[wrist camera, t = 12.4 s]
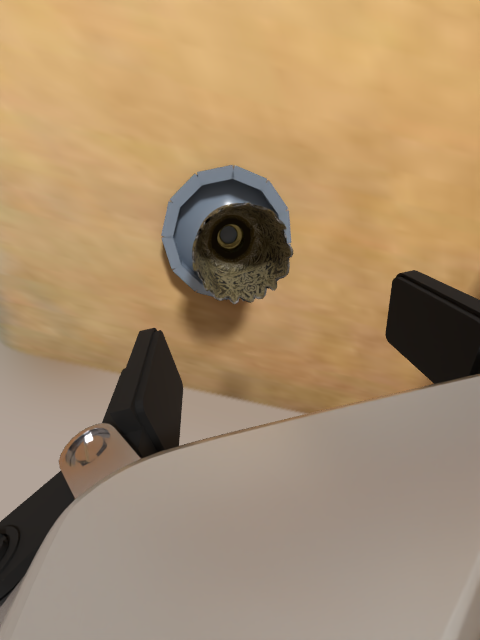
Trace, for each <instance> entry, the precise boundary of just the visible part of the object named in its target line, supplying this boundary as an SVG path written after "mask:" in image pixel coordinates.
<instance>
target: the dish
mask: <svg viewBox="0 0 480 640" xmlns="http://www.w3.org/2000/svg"><path fill="white" fill-rule="evenodd" d="M197 174H198V175H196V174H194V175H193V176H192V177H191V178H190V179H189V180H188V181H187V182H186V183H185V184H184V185H183V186H182V187H181V188H180V189H179V190H178V191H177V192H176V193H175V194H174V195H173V196H172V198H171V199H170V201H169V202H168V207H167V212H166V216H165V221H164V226H163V230H162V235H161V236H162V241H163V244H164V247H165V250H166V253H167V257H168V260H169V263H170V266H171V269H173V272H174V273H176V274H177V275H178V276H179V277H180V278H181V279H182V280H183V281H184V282H185V283H186V284H187V285H188V286H189V287H191V288H192V289H193V290H194V291H196V290H197V293H201V294H204V295H208V296H212V297H214V296H213V295H212V294H211V292H210V291H206V290H205V288H204V285H203V282H202V280H201V279H200V278H199V276H198V273H197V271H194V270H193V266H192V262H193V260H192V247H193V243H194V240H195V238H196V235H197V232H198V230H199V228H200V226H201V224H202V222H203V221H204V219H205V218H206V217H207V216H208V215H209V214H210V213H211V212H212V211H214V210H215V209H217V208H219V207H221V206H224V205H227V204H233V203H252V204H254V205H259V206H262V207H265V208H268V209H270V210H271V211H273V212H274V213H275V214H276V215H277V217H278V219H280V220H281V221H282V222H283V223H284V224H285V226H286V228H287V229H286V231H285V230H284V232H285V234H286V236H287V243H288V245H289V246H291V244H289V243H291V233H290V220H289V210H287V209H288V208H287V206H286V205H285V203H284V202H283V200H282V199H281V197H280V196H279V194H278V193H277V191H276V190H275V189H274V187H273V186H272V184H271V183H270V181H269V180H267V179H266V178H264V177H261V176H259V175H257V174H254V173H252V172H250V171H247V170H245V169H243V168H240V167H238V166H235V165H233V166H232V165H229V166H225V167H220V168H215V169H210V170H205V171H200V172H197ZM220 236H221V239H222V241H223V242H225V243H232V242H234V241H235V239H236V237H237V232H236V230H235V229H234V228H233V227H231V226H227V227H224V228H223V229H222V231H221V233H220ZM226 300H227V299H226Z"/></svg>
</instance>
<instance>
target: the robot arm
mask: <svg viewBox="0 0 480 640" xmlns="http://www.w3.org/2000/svg"><path fill="white" fill-rule="evenodd" d="M386 339H387V341H388V342H389V343H390V344H391V345H392V346H393V347H394V348H396V349H397V350H398V351H399V352H400V353H401V354H402V355H403V356H404V357H405V358H407V359H408V360H409V361H410V362H411V363H412V364H413V365H414V366H415V367H416V368H418V369H419V370H420V371H421V372H422V373H423V374H424V375H425V376H426V377H427V378H429V379H430V380H431V381H432V382H433V383H434V384H433V385H428V386H424V387H420V388H415V389H411V390H407V391H402V392H398V393H394V394H389V395H385V396H381V397H377V398H372V399H368V400H364V401H360V402H355V403H351V404H347V405H343V406H338V407H334V408H330V409H326V410H321V411H317V412H313V413H309V414H305V415H301V416H296V417H292V418H288V419H284V420H280V421H276V422H272V423H267V424H264V425H259V426H255V427H251V428H247V429H243V430H239V431H235V432H231V433H227V434H222V435H219V436H214V437H210V438H206V439H203V440H199V441H195V442H192V443H188V444H184V445H181V446H179V437H180V423H181V410H182V396H183V384H182V380H181V378H180V375H179V373H178V370H177V368H176V365H175V363H174V360H173V358H172V355H171V352H170V350H169V347H168V345H167V342H166V340H165V337H164V335H163V332H162V331H161V330H160V331H157V330H156V328H152V329H147V330H143V331H140V332H139V334H138V337H137V339H136V342H135V345H134V348H133V350H132V353H131V356H130V358H129V361H128V364H127V367H126V368H125V369H123V371H122V372H121V375H120V377H119V380H118V383H117V385H116V388H115V391H114V393H113V396H112V398H111V401H110V404H109V406H108V409H107V412H106V414H105V417H104V419H103V422H102V423H100V424H95V425H93V426H90V427H88V428H86V429H84V430H82V431H81V432H79V433H78V434H77V435H76V436H75V437H73V438H72V439H71V440H70V441H69V443H68V444H67V445H66V446H65V447H64V449H63V451H62V453H61V455H60V459H59V465H60V469H61V471H60V472H59V473H58V474H56V475H55V476H54V477H53V478H52V479H51V480H50V481H48V482H47V483H46V484H45V485H43V486H42V487H41V488H40V489H39V490H37V491H36V492H35V493H34V494H33V495H32V496H30V497H29V498H28V499H27V500H26V501H24V502H23V503H22V504H21V505H20V506H18V507H17V508H16V509H15V510H14V511H13V512H11V513H10V514H9V515H8V516H7V517H6V518H4V519H3V520H2V521H1V522H0V640H480V300H478V299H476V298H474V297H472V296H470V295H468V294H466V293H463V292H461V291H459V290H457V289H455V288H453V287H450V286H448V285H446V284H444V283H442V282H440V281H437V280H435V279H433V278H431V277H429V276H427V275H425V274H422V273H420V272H418V271H415V270H413V271H408V272H404V273H399V274H398V275H397V276H396V278H394V279H393V281H392V288H391V296H390V303H389V311H388V319H387V327H386Z"/></svg>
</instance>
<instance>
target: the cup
mask: <svg viewBox="0 0 480 640" xmlns="http://www.w3.org/2000/svg"><path fill="white" fill-rule="evenodd" d="M227 226H231V227H233V228H234V229H235V230H236V232H237V237H236V239H235V241H234V242H232V243H225V242H223V241H222V239H221V236H220V233H221V231H222V229H223V228H224V227H227ZM286 229H287V228H286V226H285V224H284V223H283V222H282V221H281V220H280V219H278V217H277V215H276V214H275V213H274V212H273V211H271V210H270V209H268V208H265V207H262V206H259V205H254V204H252V203H233V204H227V205H224V206H221V207H219V208H217V209H215V210H214V211H212V212H211V213H210V214H209V215H208V216H207V217H206V218H205V219H204V221H203V222H202V224H201V226H200V228H199V230H198V232H197V235H196V238H195V240H194V243H193V247H192V260H193V262H192V266H193V270H194V271H197V273H198V276H199V278H200V279H201V280H202V282H203V285H204V288H205V290H206V291H210V292H211V294H212V295H213V296H214V298H215V299H217V300H219V301H221V300H224V299H229V300H230V302H232V303H233V304H236V303H237V302H238V300H239V298H241V299H242V300H243V301H247V302H250V303H251V302H253V301H254V299H255V298H257V299H263V298H264V297H265V295H266V291H267V288H270V289H272V290H276V288H277V281H278V280H279V279H281V278H284V277H285V276H286V275H288V273H289V267H290V264H289V258H290V257H292V255H293V249H292V247H291V246H289V245H288V243H287V236H286V234H285V232H284V230H285V231H286Z"/></svg>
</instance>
